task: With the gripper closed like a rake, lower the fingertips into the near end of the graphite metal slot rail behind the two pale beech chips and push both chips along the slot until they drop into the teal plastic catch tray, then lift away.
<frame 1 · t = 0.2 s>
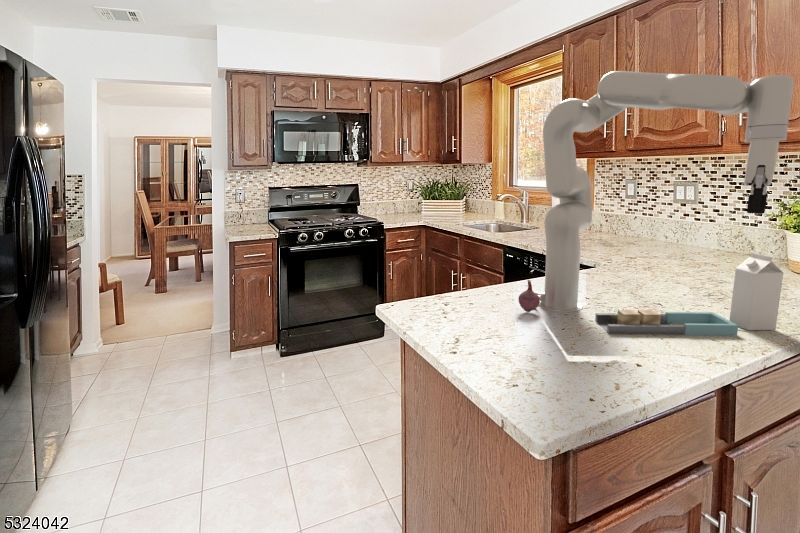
hand: (756, 211, 110), 31 cm above the countertop, fingers open, 9 cm apart
catch tray: (698, 331, 122), on the countertop
milk carton: (751, 327, 126), on the countertop
chip 2: (648, 327, 123), point 1 cm above the countertop, touching slot rail
chip 1: (627, 327, 124), point 1 cm above the countertop, touching slot rail
vegetable: (528, 313, 141), on the countertop
slot rail: (661, 331, 123), on the countertop
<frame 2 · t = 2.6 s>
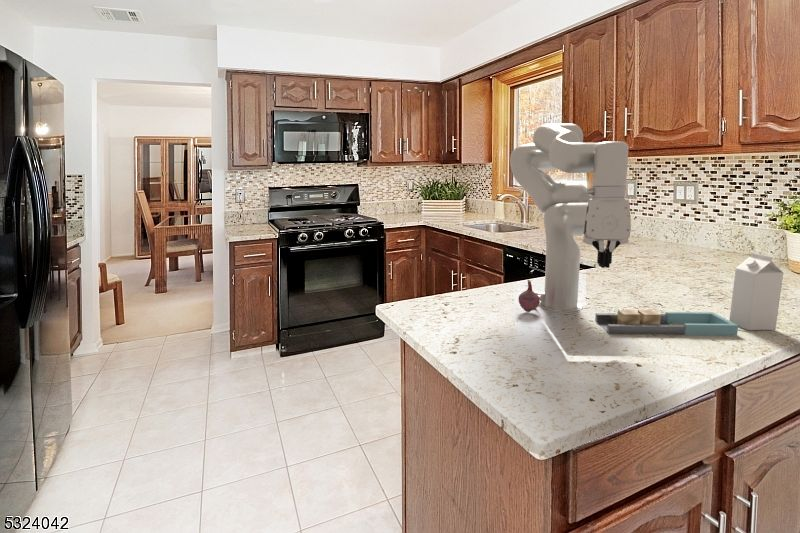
hand: (603, 266, 121), 17 cm above the countertop, fingers closed
nothing on the countertop moved.
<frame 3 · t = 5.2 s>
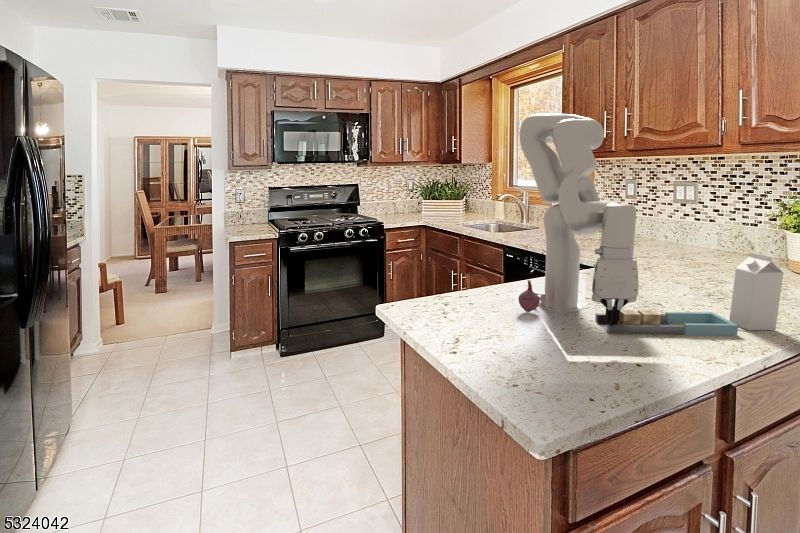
hand: (612, 323, 124), 2 cm above the countertop, fingers closed
chip 1: (628, 327, 124), point 1 cm above the countertop, touching gripper
everything else where it was.
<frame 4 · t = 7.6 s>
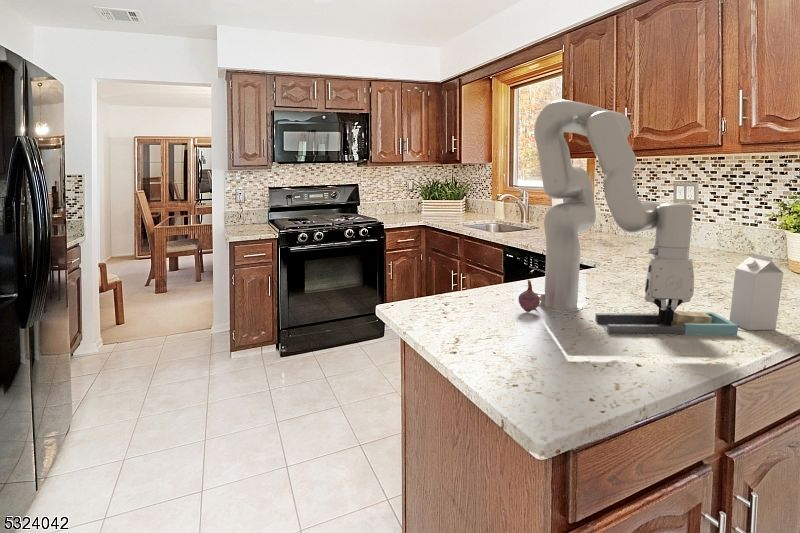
hand: (665, 323, 123), 2 cm above the countertop, fingers closed
chip 2: (696, 329, 122), point 1 cm above the countertop, tilted 5°, touching catch tray, chip 1
chip 1: (680, 328, 122), point 1 cm above the countertop, tilted 6°, touching chip 2, gripper, slot rail
everything else where it was.
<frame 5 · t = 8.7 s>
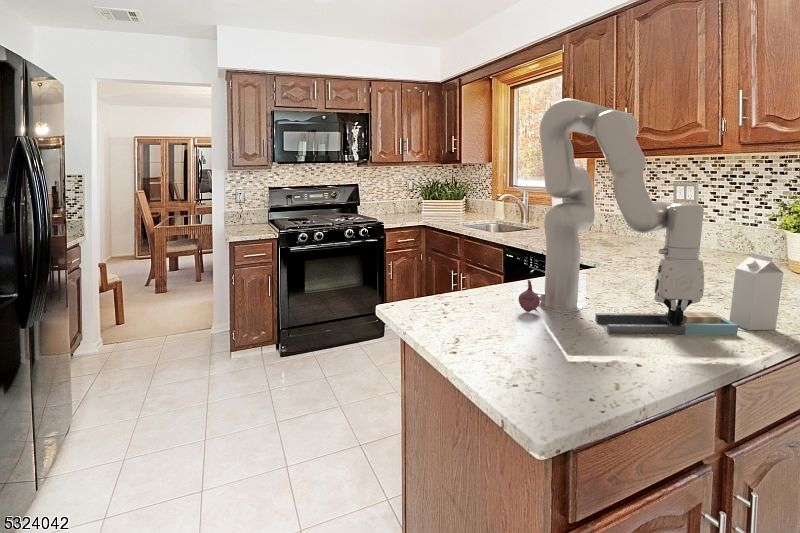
hand: (674, 324, 122), 2 cm above the countertop, fingers closed
chip 2: (706, 329, 122), resting on catch tray, touching chip 1
chip 1: (690, 329, 122), resting on catch tray, touching chip 2, gripper
everything else where it was.
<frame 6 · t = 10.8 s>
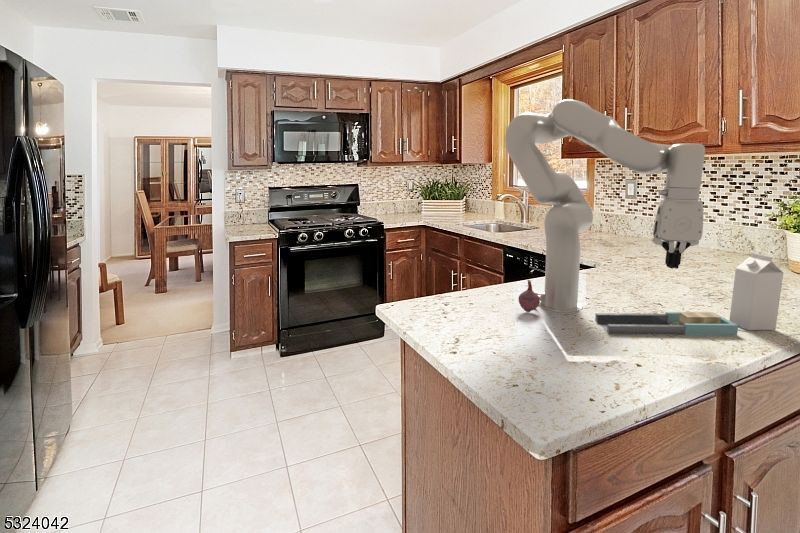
hand: (672, 267, 122), 16 cm above the countertop, fingers closed
chip 2: (706, 329, 122), resting on catch tray
chip 1: (690, 329, 122), resting on catch tray
everything else where it was.
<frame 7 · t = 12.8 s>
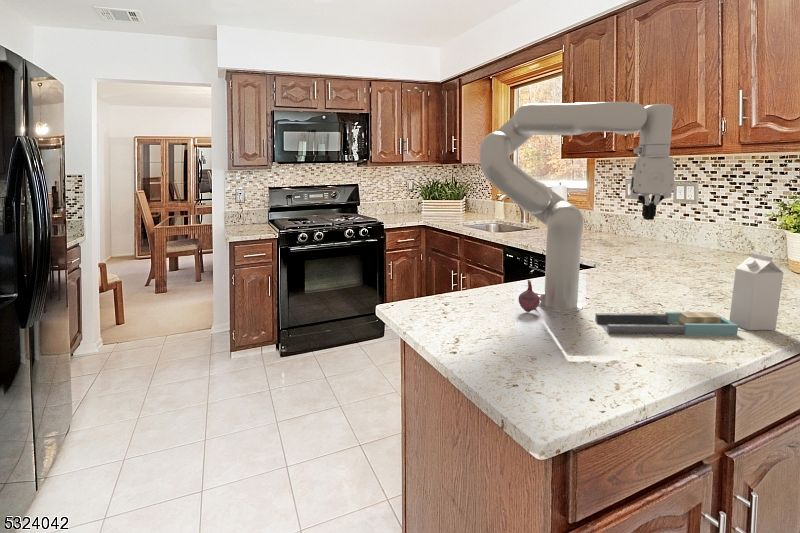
hand: (648, 219, 134), 27 cm above the countertop, fingers closed
nothing on the countertop moved.
at the end: chip 2 2.0 cm from the catch tray (horizontally); chip 1 2.0 cm from the catch tray (horizontally); chip 1 resting on catch tray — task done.
